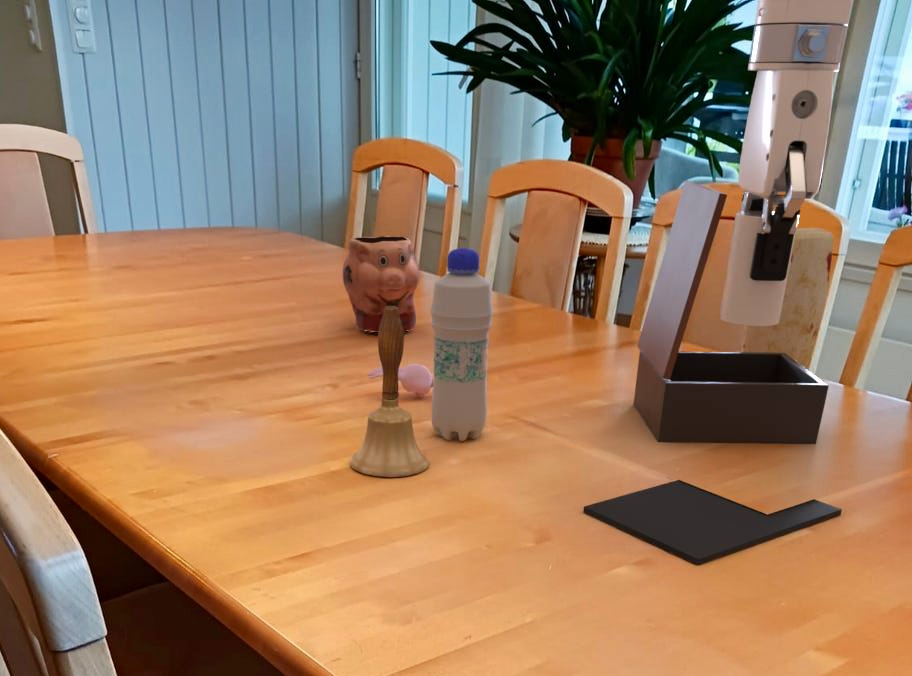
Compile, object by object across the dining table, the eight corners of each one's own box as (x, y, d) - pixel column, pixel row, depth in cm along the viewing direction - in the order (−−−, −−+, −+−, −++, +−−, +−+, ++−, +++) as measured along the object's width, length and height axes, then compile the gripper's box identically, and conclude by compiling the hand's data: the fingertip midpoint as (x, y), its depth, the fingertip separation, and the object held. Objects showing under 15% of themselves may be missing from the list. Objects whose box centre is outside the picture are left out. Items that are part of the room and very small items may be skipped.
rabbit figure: (473, 397, 129) (362, 383, 125) (482, 352, 126) (369, 336, 123) (484, 410, 124) (369, 396, 120) (494, 364, 121) (376, 347, 117)
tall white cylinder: (745, 312, 98) (762, 209, 93) (791, 322, 94) (812, 215, 89) (707, 318, 95) (723, 212, 90) (753, 328, 91) (772, 219, 86)
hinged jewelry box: (773, 412, 121) (785, 352, 117) (814, 450, 108) (828, 385, 104) (632, 410, 120) (639, 350, 117) (656, 448, 108) (665, 383, 104)
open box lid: (692, 181, 108) (685, 180, 107) (727, 194, 95) (719, 193, 95) (643, 347, 117) (636, 346, 116) (669, 379, 104) (662, 378, 104)
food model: (742, 393, 128) (771, 229, 118) (726, 379, 134) (752, 222, 124) (814, 393, 128) (849, 230, 118) (796, 379, 134) (827, 223, 124)
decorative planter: (328, 317, 165) (325, 229, 158) (395, 313, 169) (395, 227, 162) (365, 343, 149) (363, 246, 142) (439, 337, 153) (440, 243, 146)
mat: (723, 471, 101) (724, 466, 101) (840, 515, 92) (842, 509, 91) (582, 512, 91) (583, 506, 91) (697, 565, 81) (698, 559, 81)
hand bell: (413, 448, 107) (414, 296, 99) (440, 473, 100) (443, 312, 92) (340, 455, 104) (335, 301, 96) (363, 481, 97) (359, 317, 90)
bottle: (493, 443, 109) (502, 252, 99) (434, 445, 108) (437, 253, 98) (481, 424, 114) (488, 243, 104) (424, 427, 113) (426, 243, 103)
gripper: (878, 49, 76) (827, 291, 85) (807, 55, 91) (770, 260, 100) (782, 47, 76) (741, 290, 85) (726, 53, 91) (697, 259, 100)
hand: (757, 272), depth 92 cm, fingers closed on tall white cylinder, 5 cm apart
